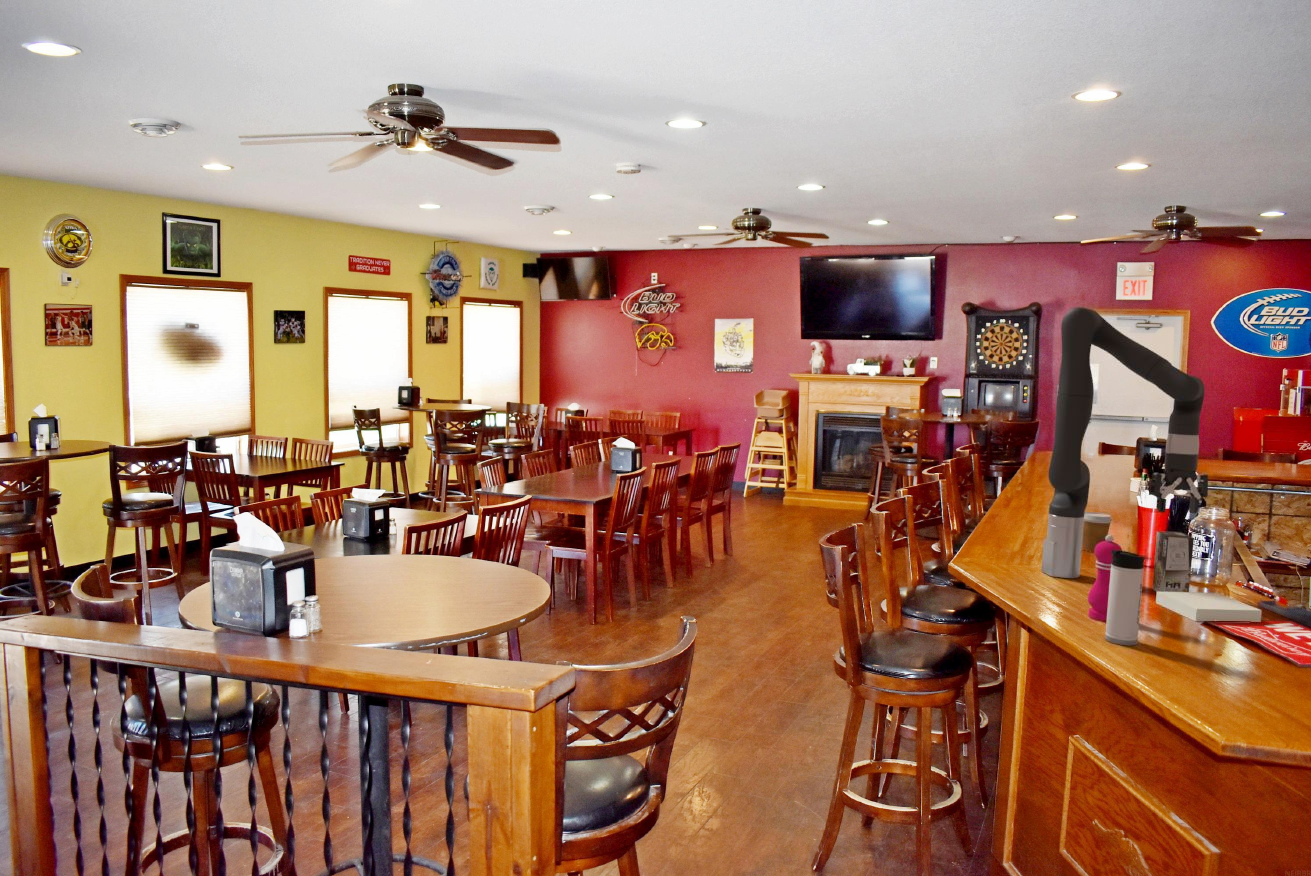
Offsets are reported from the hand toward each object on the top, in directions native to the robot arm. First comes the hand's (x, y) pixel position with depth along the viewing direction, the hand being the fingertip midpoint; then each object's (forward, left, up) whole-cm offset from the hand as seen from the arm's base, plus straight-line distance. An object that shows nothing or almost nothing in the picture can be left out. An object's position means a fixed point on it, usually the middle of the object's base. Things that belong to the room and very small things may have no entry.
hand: (1177, 512), depth 243 cm
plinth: (-2, -18, -22) cm, 28 cm away
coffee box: (0, 0, -22) cm, 22 cm away
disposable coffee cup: (+8, +54, -22) cm, 59 cm away
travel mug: (-38, -43, -22) cm, 61 cm away
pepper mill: (-32, -25, -22) cm, 46 cm away
